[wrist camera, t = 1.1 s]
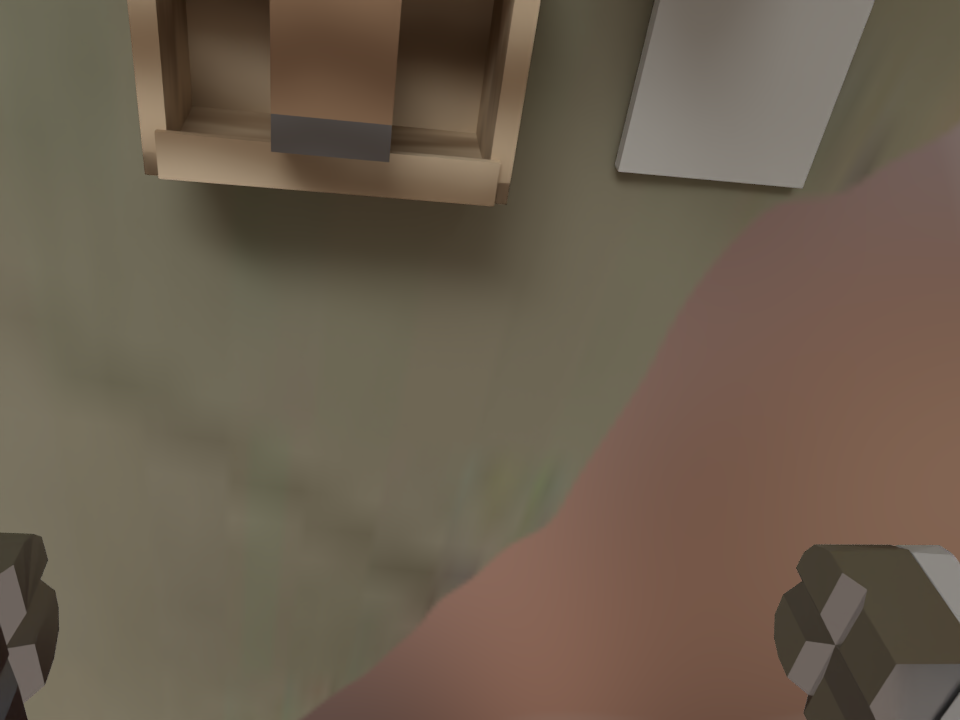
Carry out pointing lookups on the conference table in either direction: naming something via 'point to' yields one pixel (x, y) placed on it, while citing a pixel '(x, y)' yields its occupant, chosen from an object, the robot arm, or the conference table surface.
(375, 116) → the capped block
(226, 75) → the brown wooden open box
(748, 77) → the felt pad
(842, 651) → the robot arm
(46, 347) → the conference table surface
